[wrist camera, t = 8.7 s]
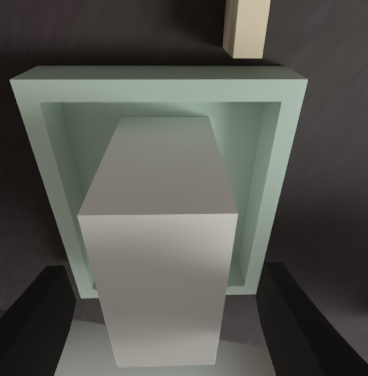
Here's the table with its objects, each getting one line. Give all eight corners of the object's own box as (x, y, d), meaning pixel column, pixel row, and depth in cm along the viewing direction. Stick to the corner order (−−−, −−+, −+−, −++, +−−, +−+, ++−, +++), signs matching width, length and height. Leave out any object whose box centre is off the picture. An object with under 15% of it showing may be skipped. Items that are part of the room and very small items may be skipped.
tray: (246, 262, 19) (255, 294, 17) (91, 265, 19) (81, 298, 17) (284, 65, 12) (308, 79, 10) (38, 65, 12) (9, 79, 10)
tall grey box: (200, 251, 18) (213, 373, 12) (137, 252, 18) (119, 376, 12) (208, 116, 13) (238, 213, 7) (121, 116, 13) (77, 215, 7)
